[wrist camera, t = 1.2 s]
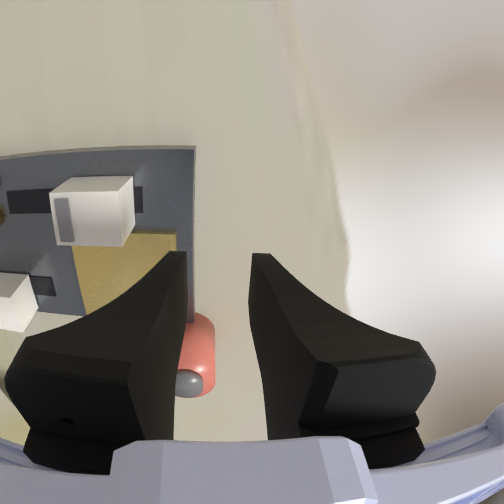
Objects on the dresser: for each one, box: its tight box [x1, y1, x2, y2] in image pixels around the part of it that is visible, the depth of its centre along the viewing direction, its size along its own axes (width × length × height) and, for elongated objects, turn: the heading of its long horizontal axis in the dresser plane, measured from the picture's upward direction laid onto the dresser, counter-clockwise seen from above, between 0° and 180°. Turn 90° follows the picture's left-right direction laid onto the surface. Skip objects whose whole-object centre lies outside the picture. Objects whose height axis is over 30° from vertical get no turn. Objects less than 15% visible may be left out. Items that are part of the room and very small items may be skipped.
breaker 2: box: [49, 176, 135, 247], centre depth 16 cm, size 3×4×3 cm
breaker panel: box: [0, 146, 196, 323], centre depth 19 cm, size 12×16×2 cm
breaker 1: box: [0, 272, 38, 332], centre depth 18 cm, size 3×4×3 cm
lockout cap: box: [175, 313, 215, 398], centre depth 22 cm, size 4×4×6 cm
